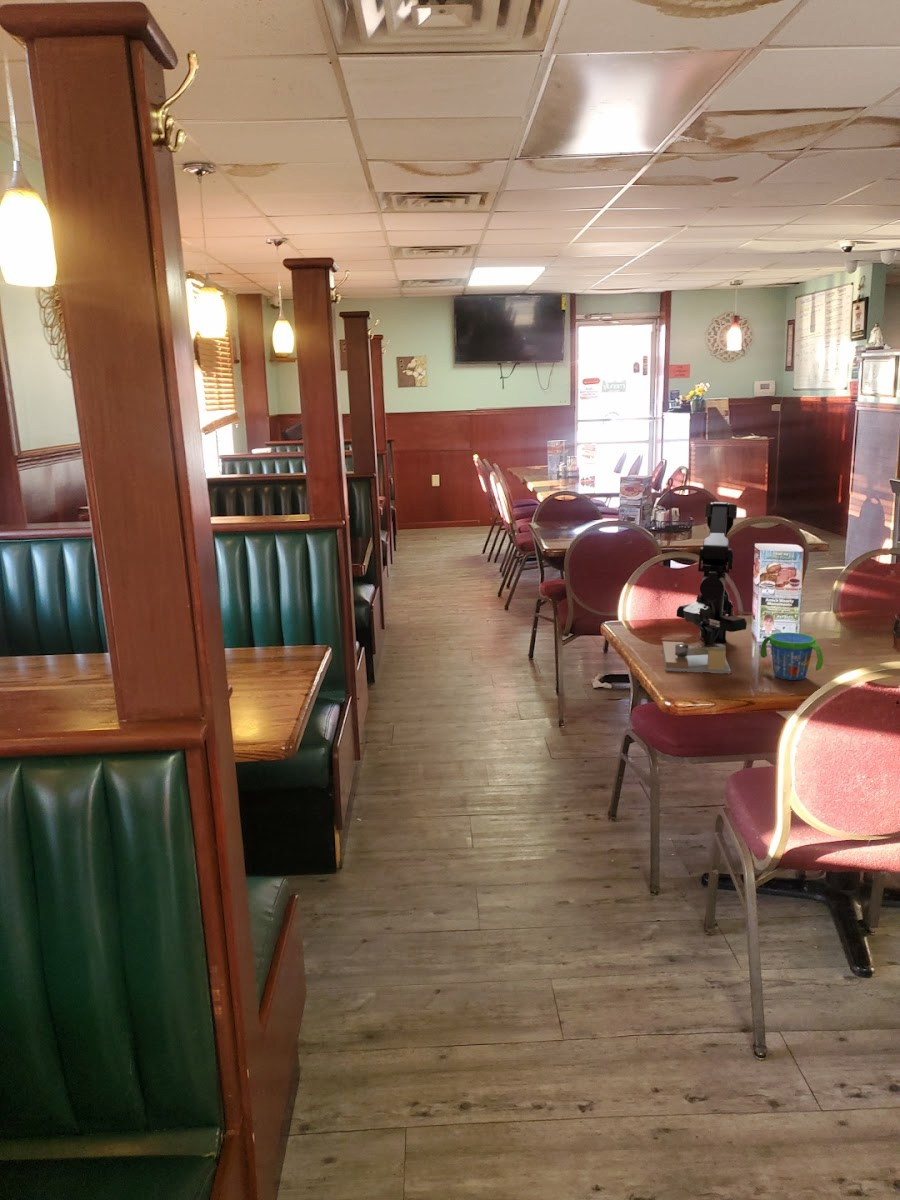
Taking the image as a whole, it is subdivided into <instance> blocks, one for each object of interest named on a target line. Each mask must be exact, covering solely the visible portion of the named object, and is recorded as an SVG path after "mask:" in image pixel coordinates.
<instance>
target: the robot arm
mask: <svg viewBox="0 0 900 1200" xmlns="http://www.w3.org/2000/svg"><path fill="white" fill-rule="evenodd" d="M733 503H734V502H728V501H713V502H712V501H711V502H710V503H707V504H705V507H704V508H705V509H704V519H706V520H707V522H706V525H707V528H708V529H709V535H708V536H707V537H705V538H704V539H703V543H702V546H701V547H699V558H698V568H697V572H703V573H702V580H701V582H700V585H699V592H700V594H697V595H696V601H695V602H692V603H690V604H686V605H679V606H678V607H677V609H676V617H678V618H680V619H684V620H685V622H690V623H692V624H693V625H694V626H696V627H697V628H698V629H699V630H700V632H699V633H700V634H699V636H700V638H701V639H702V641H703V642H704V645H713V644H714V643H715V642H716V643H727V638H726V637H727V632H729V633H735V632H740V631H744V630H746V629H747V624H748V622H747V620H746V618H745V617H741V616H737V615H734V604H733V603H732V600H731V599H730V592H729V591H728V590H727V588H726V579H727V574H730V570H733V565H734V552H733V549H732V548H730V540H729V539H728V533H729V532H730V531H731V529H732V528H733V526H734V523H735V521H734V520H737V513H738V505H737V504H733Z"/></svg>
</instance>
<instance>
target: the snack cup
mask: <svg viewBox="0 0 900 1200" xmlns="http://www.w3.org/2000/svg"><path fill="white" fill-rule="evenodd" d="M768 643H769V644H770V646H771V648H770V650H771V658H772V660H771V661H772V671H773V674H774V677H776V678H778V679H783V680H788V681H798V680H804V679H805V678H806V676H807V674H808V671H809V666H810V662H811V658H812V653H813V650H814V651H815V652H816V658H817V661H816V665H815V671H819V670H821V669H822V668H823V664H824V656H823V652H822V651H823V650H822V649H821V647H820V646H819V644H817V643H816V638H815V637H813V636H811V635H809V634H805V633H800V632H776V633H772V634H770V635H769V636H766V637H765V638H764V639H763V641H762V643H761V647H760V652H759V653H760V657H761V658H762V659H764V658H765V659H766V657H767V656H768V651H767V644H768Z"/></svg>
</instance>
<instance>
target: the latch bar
mask: <svg viewBox="0 0 900 1200" xmlns="http://www.w3.org/2000/svg"><path fill="white" fill-rule="evenodd" d="M726 647H727V646H726V645H725V644H723V643H717V644H716V643H715V644H714V643H713V645H705V644H696V645H695V644H694V645H688V644H687V643H683V644H676V645H675V655H676V656H691V655H708V648H710V649H725V651H726V650H727V648H726Z"/></svg>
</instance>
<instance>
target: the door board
mask: <svg viewBox="0 0 900 1200" xmlns="http://www.w3.org/2000/svg"><path fill="white" fill-rule="evenodd" d="M676 644H684V642H683V641H681V642H680V641H677V642H676V641H662V647H661V648H662V655H663V656H662V657H663V662H664V663H663V664H664V669H665V672H682V671H683V672H685V671H687V672H688V673H703V672H711V673H710V674H724V673H728V674H729V675H731V674H732V670H731V668H730V665H729V663H728V660H727V657H726V653H727V652H726V651H725V649H710V648H708V655H691V656H676V655H675V645H676ZM687 672H686V673H687ZM730 673H731V674H730ZM728 674H727V675H728Z"/></svg>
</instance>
